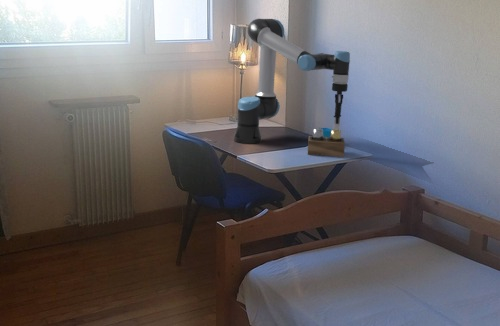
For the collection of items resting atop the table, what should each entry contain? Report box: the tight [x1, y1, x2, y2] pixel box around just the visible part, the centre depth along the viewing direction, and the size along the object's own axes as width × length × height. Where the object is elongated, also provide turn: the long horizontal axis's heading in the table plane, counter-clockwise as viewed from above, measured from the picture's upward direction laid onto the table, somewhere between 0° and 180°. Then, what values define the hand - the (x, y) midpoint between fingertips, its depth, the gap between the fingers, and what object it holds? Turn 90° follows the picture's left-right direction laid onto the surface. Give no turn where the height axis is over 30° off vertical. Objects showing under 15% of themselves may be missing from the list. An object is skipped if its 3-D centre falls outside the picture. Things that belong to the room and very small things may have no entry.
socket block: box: [307, 135, 346, 158], centre depth 290 cm, size 12×18×7 cm, turn 84°
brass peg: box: [330, 128, 342, 141], centre depth 289 cm, size 5×5×7 cm
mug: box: [319, 127, 333, 137], centre depth 309 cm, size 12×8×8 cm
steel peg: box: [312, 127, 323, 140], centre depth 290 cm, size 5×5×7 cm
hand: (336, 129), depth 288 cm, fingers closed
